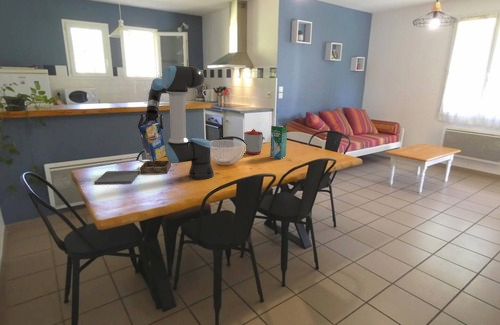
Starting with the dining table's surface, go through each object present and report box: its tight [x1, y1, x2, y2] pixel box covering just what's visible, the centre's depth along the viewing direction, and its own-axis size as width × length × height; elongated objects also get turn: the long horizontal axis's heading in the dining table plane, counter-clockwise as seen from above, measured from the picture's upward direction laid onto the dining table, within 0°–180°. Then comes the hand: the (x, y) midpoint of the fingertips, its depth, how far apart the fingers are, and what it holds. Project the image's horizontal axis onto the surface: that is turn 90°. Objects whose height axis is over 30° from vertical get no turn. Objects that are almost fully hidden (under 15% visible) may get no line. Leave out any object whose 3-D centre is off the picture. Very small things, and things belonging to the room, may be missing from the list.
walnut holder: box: [139, 160, 172, 175], centre depth 194 cm, size 16×16×4 cm
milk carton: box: [269, 125, 288, 160], centre depth 227 cm, size 9×9×25 cm
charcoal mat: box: [93, 170, 141, 185], centre depth 177 cm, size 20×20×2 cm
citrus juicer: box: [243, 128, 266, 155], centre depth 240 cm, size 16×17×20 cm
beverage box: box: [138, 121, 167, 161], centre depth 189 cm, size 7×11×22 cm, turn 146°
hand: (149, 137), depth 185 cm, fingers closed on beverage box, 8 cm apart
